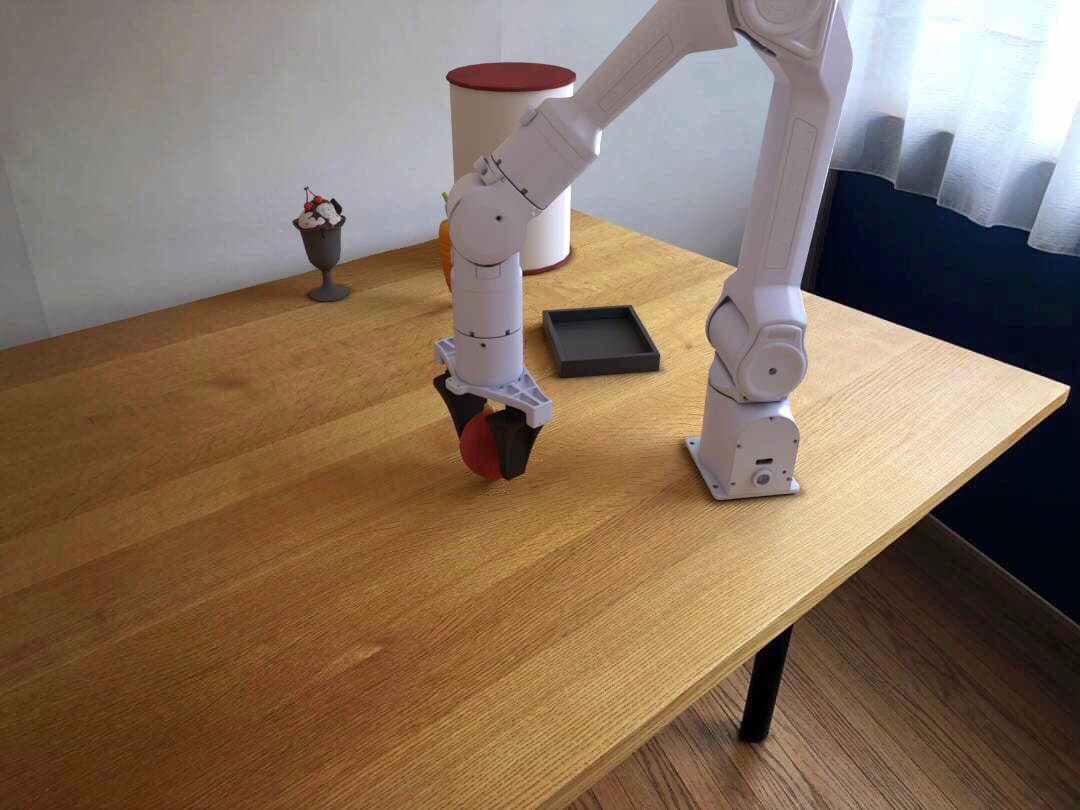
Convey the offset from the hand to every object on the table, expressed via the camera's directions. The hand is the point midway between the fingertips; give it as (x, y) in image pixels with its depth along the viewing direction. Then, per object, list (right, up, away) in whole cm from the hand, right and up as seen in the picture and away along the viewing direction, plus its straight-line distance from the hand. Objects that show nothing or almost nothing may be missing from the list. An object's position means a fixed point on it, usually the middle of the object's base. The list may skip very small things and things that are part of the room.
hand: (492, 458), depth 78 cm
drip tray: (+11, +12, +23) cm, 28 cm away
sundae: (-24, +19, +36) cm, 47 cm away
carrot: (-6, +18, +33) cm, 38 cm away
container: (0, +27, +49) cm, 56 cm away
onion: (0, -2, +1) cm, 2 cm away
